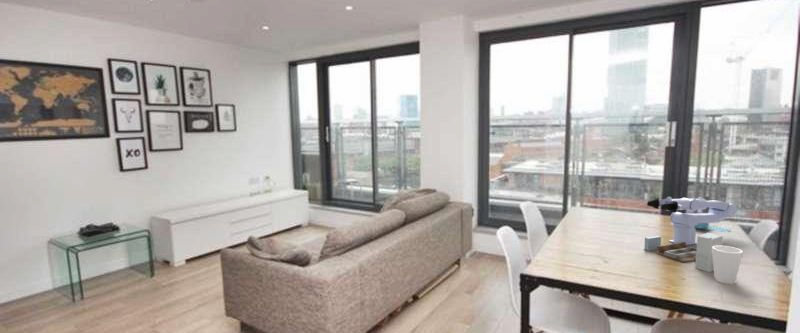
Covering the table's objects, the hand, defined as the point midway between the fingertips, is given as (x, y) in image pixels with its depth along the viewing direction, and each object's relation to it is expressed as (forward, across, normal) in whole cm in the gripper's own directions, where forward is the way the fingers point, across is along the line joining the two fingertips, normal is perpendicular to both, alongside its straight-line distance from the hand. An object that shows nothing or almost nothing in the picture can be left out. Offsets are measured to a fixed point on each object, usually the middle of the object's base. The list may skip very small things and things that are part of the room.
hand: (654, 205), depth 195 cm
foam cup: (+7, +40, +22) cm, 46 cm away
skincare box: (+1, +29, +22) cm, 36 cm away
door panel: (0, +2, +22) cm, 22 cm away
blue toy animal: (-54, -16, +19) cm, 60 cm away
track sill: (-4, +14, +21) cm, 26 cm away
